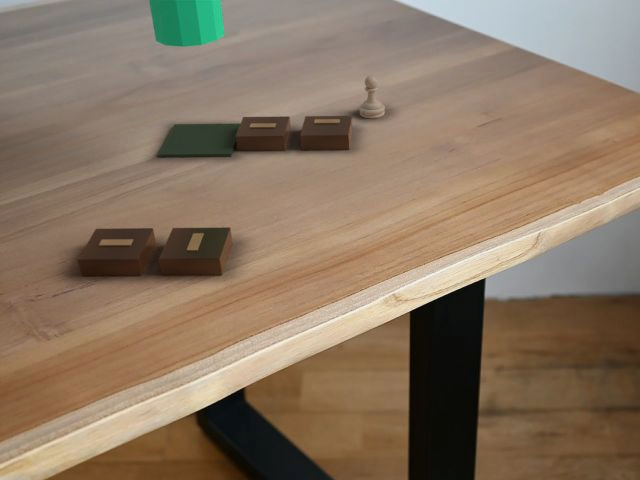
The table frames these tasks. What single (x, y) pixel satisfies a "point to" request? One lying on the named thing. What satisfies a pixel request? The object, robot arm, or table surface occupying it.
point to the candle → (187, 21)
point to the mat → (200, 140)
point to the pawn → (371, 101)
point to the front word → (138, 244)
